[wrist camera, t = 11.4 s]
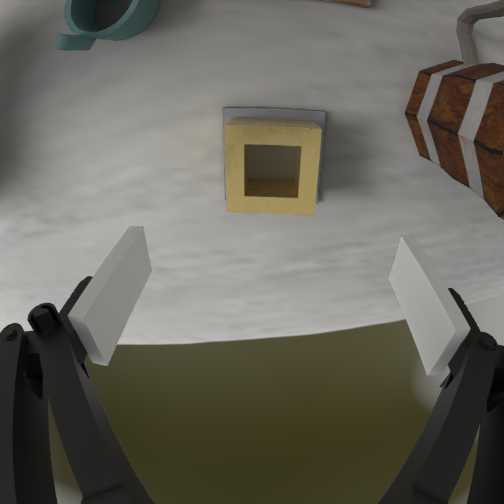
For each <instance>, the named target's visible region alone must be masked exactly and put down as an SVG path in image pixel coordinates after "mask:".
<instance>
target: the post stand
mask: <svg viewBox="0 0 504 504" xmlns="http://www.w3.org/2000/svg"><path fill="white" fill-rule="evenodd" d="M321 1H329V2H337V3H343V4H349V5H355V6H361V7H366V8H368V7H370V6H371V0H321Z"/></svg>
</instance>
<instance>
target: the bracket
mask: <svg viewBox="0 0 504 504" xmlns="http://www.w3.org/2000/svg"><path fill="white" fill-rule="evenodd" d="M96 2H97V0H67V3H66V7H65V18H66V21H67V24H68V26H69V28H70V29H71V30H72V31H73V33H75V34H76V35H58V36H57V39H56V42H55V45H54V49H57V50H64V51H66V50H89V49H90V48H91V46H92V45H93V43H94V41H95V40H96V39H105V40H115V41H118V40H124V39H128V38H131V37H133V36H135V35H137V34H138V33H140V32H141V31H142V30H144V29H145V28H146V27H147V26H148V25H149V24H150V23H151V21H152V20H153V18H154V17H155V15H156V13H157V11H158V8H159V5H160V0H132V2H131V5H130V7H129V8H128V10H127V11H126V13H125V14H124V15H123V16H122V17H121V18H120V19H119V20H118V21H117V22H116V23H115V24H113V25H112V26H110V27H108V28H106V29H104V30H101V31H99V30H98V29H97V27H96V25H95V22H94V8H95V5H96Z"/></svg>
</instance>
